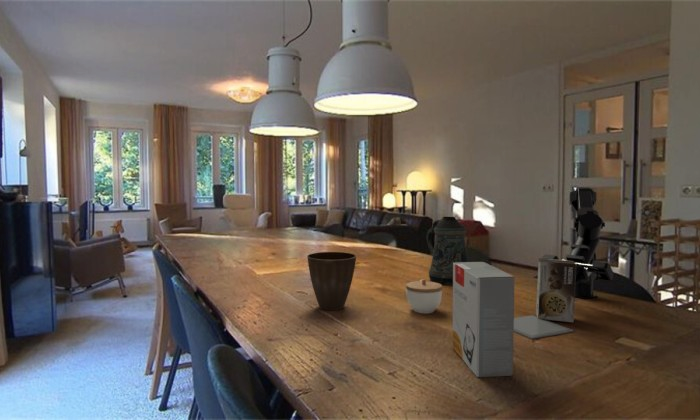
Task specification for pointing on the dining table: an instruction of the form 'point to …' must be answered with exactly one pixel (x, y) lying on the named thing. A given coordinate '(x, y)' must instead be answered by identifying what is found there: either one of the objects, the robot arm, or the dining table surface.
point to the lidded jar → (423, 295)
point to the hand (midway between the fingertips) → (565, 290)
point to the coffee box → (556, 290)
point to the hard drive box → (483, 318)
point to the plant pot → (331, 277)
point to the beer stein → (446, 249)
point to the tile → (537, 327)
